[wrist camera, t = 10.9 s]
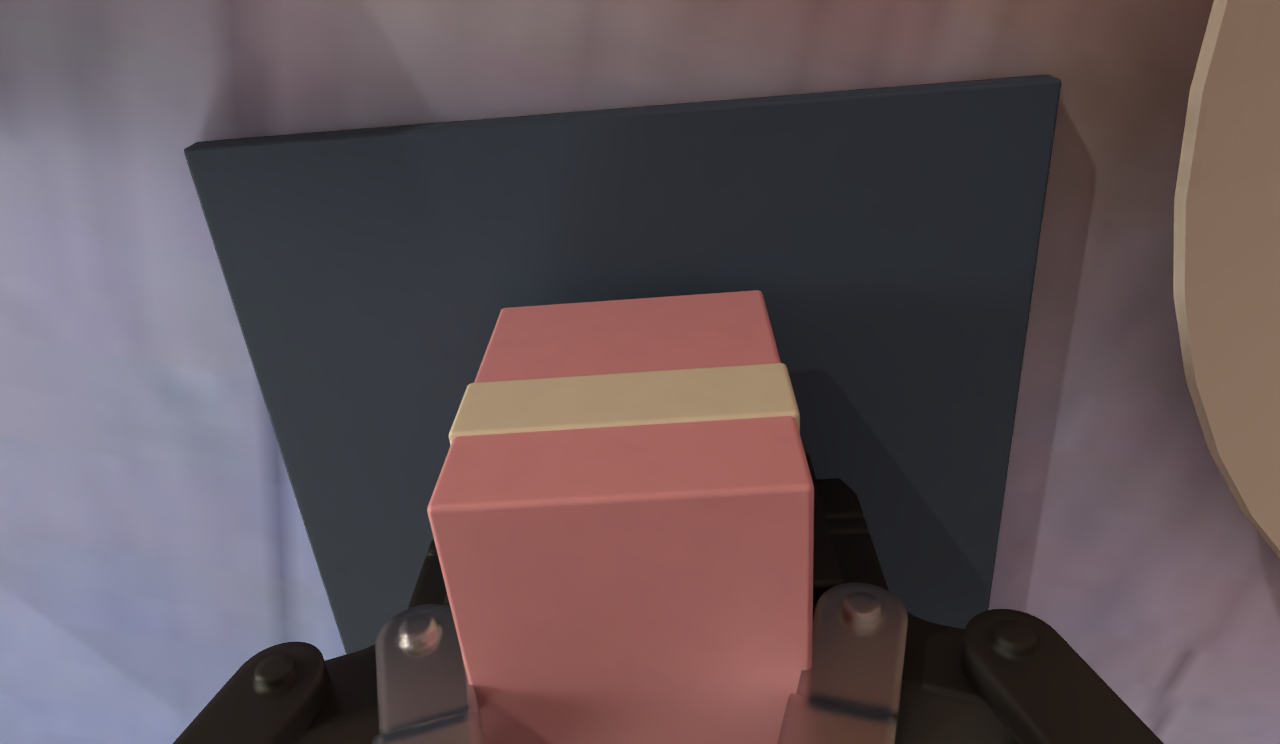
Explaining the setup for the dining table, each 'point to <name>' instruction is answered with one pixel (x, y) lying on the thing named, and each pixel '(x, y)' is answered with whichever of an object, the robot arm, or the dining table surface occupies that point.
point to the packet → (630, 525)
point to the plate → (1234, 253)
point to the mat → (649, 295)
